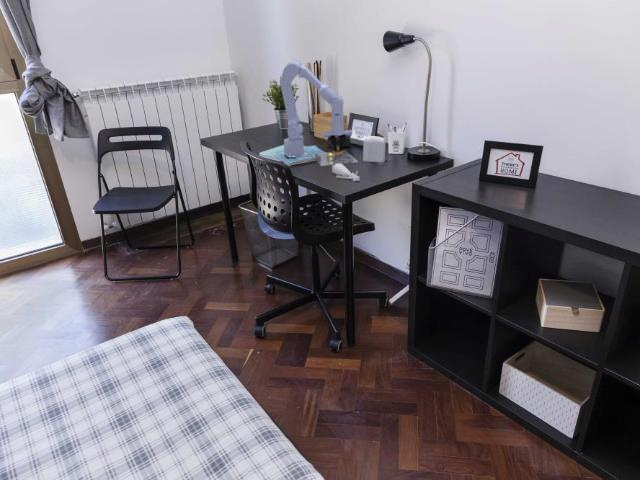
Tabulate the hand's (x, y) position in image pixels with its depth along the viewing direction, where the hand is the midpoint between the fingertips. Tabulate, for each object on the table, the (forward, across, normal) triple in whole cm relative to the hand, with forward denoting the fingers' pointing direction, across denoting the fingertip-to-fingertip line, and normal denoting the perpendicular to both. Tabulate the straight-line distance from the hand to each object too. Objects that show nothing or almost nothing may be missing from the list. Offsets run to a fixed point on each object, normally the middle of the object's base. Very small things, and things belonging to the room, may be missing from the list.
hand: (337, 150), depth 234 cm
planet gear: (+2, 0, 0) cm, 2 cm away
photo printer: (+3, +13, -16) cm, 20 cm away
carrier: (+3, -3, -5) cm, 7 cm away
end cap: (+3, +4, +12) cm, 13 cm away
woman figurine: (+3, -5, -30) cm, 31 cm away
